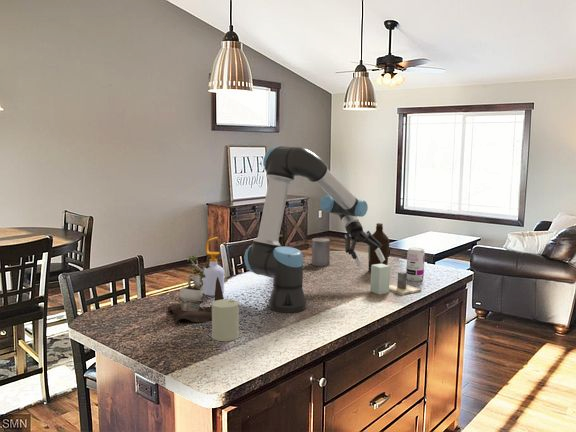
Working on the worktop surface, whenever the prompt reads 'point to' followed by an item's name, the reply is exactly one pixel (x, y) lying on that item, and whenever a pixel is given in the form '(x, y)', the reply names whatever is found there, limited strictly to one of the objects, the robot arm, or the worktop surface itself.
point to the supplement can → (415, 264)
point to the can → (225, 320)
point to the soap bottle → (212, 273)
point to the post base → (403, 291)
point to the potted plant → (195, 297)
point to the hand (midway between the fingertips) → (371, 262)
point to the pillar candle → (320, 251)
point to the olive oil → (385, 248)
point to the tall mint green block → (380, 278)
